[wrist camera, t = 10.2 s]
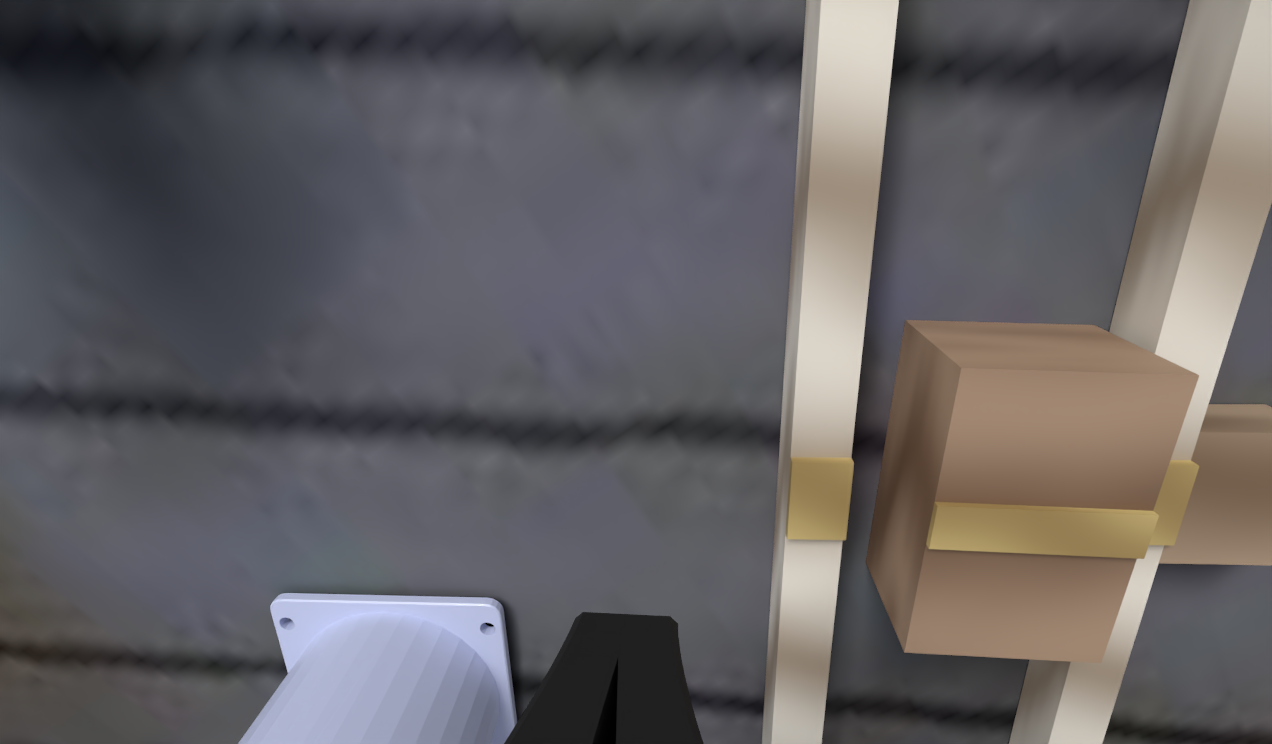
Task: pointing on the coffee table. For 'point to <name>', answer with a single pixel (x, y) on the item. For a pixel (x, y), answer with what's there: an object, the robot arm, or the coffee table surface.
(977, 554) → the rider block
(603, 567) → the coffee table surface
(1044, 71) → the coffee table surface
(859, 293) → the beam slot
